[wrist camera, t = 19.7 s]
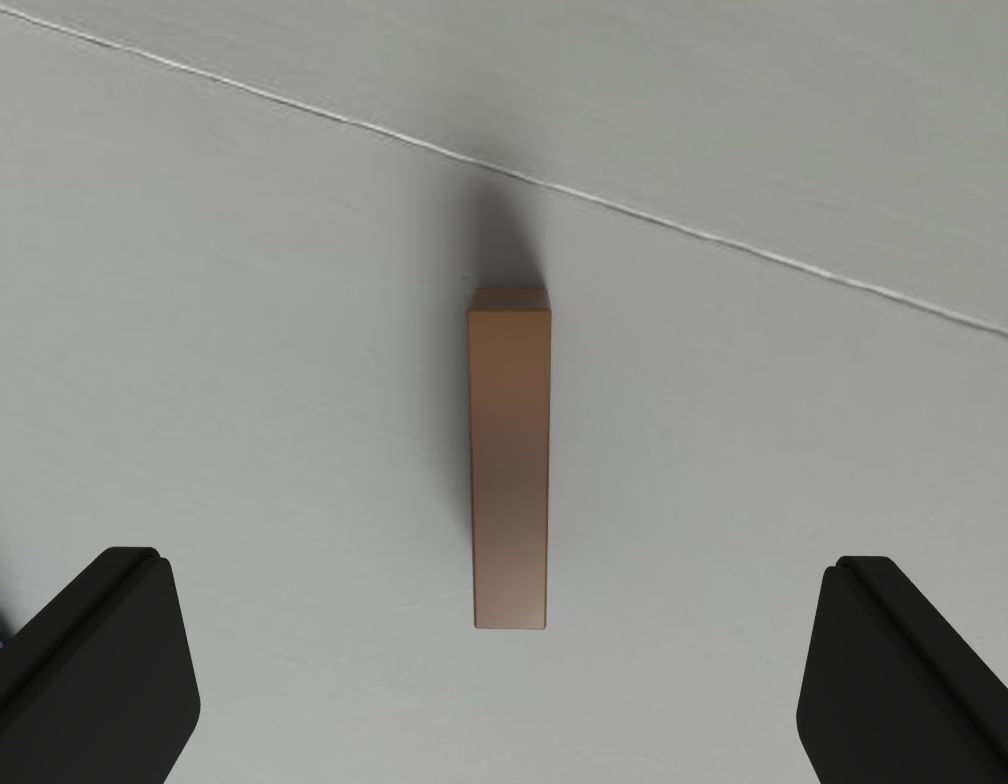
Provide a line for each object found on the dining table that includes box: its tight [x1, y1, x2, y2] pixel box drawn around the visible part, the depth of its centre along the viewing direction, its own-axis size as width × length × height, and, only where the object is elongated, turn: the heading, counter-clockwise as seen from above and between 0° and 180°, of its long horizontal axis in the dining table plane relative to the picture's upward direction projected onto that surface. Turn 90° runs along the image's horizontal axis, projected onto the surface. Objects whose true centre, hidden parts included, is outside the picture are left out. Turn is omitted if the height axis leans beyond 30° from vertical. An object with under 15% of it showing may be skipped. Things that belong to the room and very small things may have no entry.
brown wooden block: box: [466, 288, 552, 629], centre depth 18 cm, size 9×2×3 cm, turn 0°
